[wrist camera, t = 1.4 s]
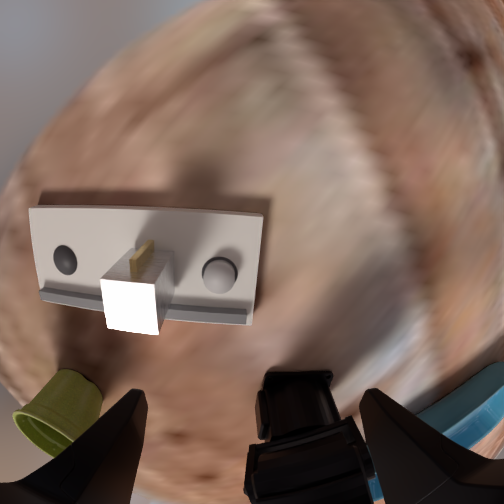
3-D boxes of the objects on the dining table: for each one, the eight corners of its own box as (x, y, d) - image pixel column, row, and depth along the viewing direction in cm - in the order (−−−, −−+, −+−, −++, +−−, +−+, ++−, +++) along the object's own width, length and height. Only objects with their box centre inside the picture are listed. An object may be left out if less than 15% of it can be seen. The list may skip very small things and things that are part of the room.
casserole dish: (518, 326, 27) (543, 347, 20) (494, 398, 34) (509, 417, 27) (321, 447, 29) (332, 488, 22) (343, 485, 36) (351, 512, 30)
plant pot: (98, 360, 22) (65, 426, 14) (128, 419, 25) (111, 478, 17) (34, 351, 22) (-3, 401, 13) (66, 407, 25) (43, 456, 16)
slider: (174, 240, 17) (153, 270, 12) (174, 292, 18) (158, 334, 14) (130, 237, 17) (98, 265, 12) (134, 288, 18) (107, 327, 13)
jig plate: (261, 213, 18) (265, 220, 16) (250, 316, 21) (252, 333, 19) (37, 205, 17) (21, 210, 15) (49, 294, 19) (37, 306, 17)
